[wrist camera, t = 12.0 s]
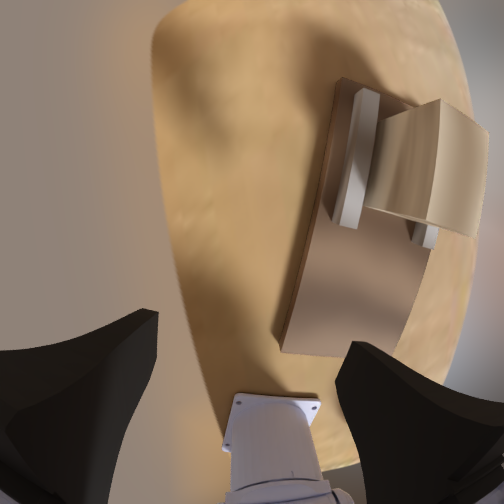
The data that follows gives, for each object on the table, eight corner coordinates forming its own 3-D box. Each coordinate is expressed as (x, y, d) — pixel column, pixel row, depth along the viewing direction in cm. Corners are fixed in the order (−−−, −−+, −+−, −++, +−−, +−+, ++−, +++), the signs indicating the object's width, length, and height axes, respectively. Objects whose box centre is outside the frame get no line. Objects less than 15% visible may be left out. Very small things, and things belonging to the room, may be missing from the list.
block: (421, 141, 16) (488, 132, 9) (408, 219, 17) (475, 239, 10) (377, 122, 16) (440, 98, 9) (362, 205, 17) (425, 220, 10)
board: (384, 351, 21) (397, 368, 19) (278, 343, 20) (283, 364, 18) (441, 129, 17) (462, 125, 14) (336, 82, 16) (350, 69, 13)
